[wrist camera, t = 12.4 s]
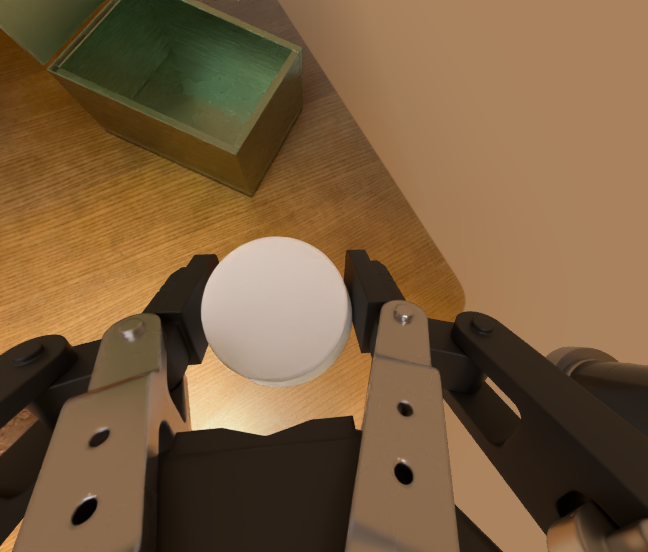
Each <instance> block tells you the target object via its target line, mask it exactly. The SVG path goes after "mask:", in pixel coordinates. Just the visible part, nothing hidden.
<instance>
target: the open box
mask: <svg viewBox="0 0 648 552" xmlns="http://www.w3.org/2000/svg"><path fill="white" fill-rule="evenodd" d="M47 70H48V72H49V73H50V74H51V75H52V76H53V77H54V78H55V79H56V80H57V81H58V82H59V83H60V84H61V85H62V86H63V87H64V88H65V89H66V90H67V91H68V92H69V93H70V94H71V95H72V96H73V97H74V98H75V99H76V100H77V101H78V102H79V103H80V104H81V105H82V106H83V107H84V108H85V109H86V110H87V111H88V112H89V113H90V114H91V115H92V116H93V117H94V118H95V119H96V120H97V122H98V123H99V124H100V125H101V126H102V127H104V129H105V130H106V131H107V132H108V133H110V134H113V135H115V136H117V137H119V138H121V139H124V140H126V141H128V142H130V143H132V144H135V145H137V146H139V147H141V148H143V149H146V150H148V151H150V152H152V153H155V154H157V155H159V156H161V157H163V158H166V159H168V160H170V161H172V162H174V163H177V164H179V165H181V166H183V167H185V168H188V169H190V170H192V171H194V172H196V173H199V174H201V175H203V176H205V177H208V178H210V179H212V180H214V181H216V182H219V183H221V184H223V185H225V186H227V187H230V188H232V189H234V190H236V191H238V192H241V193H243V194H245V195H247V196H249V197H252V196H253V195H254V193H255V191H256V189H257V188H258V186H259V184H260V182H261V181H262V179H263V177H264V175H265V174H266V172H267V170H268V169H269V167H270V165H271V163H272V162H273V160H274V158H275V156H276V155H277V153H278V151H279V149H280V148H281V146H282V144H283V142H284V141H285V139H286V137H287V136H288V134H289V132H290V130H291V129H292V127H293V125H294V123H295V122H296V120H297V118H298V116H299V115H300V113H301V111H302V47H300V46H297V45H295V44H293V43H291V42H288V41H286V40H284V39H282V38H279V37H277V36H275V35H273V34H270V33H268V32H266V31H264V30H261V29H259V28H257V27H255V26H252V25H250V24H248V23H246V22H243V21H241V20H239V19H237V18H234V17H232V16H230V15H228V14H225V13H223V12H221V11H219V10H216V9H214V8H212V7H210V6H207V5H205V4H203V3H201V2H198V1H196V0H111V1H110V2H109V3H108V4H107V5H106V6H105V7H104V8H103V9H102V10H101V11H100V12H99V14H98V15H97V16H96V17H95V18H94V19H93V20H92V21H91V22H90V23H89V24H88V25H87V26H86V28H85V29H84V30H83V31H82V32H81V33H80V34H79V35H78V36H77V37H76V38H75V39H74V40H73V42H72V43H71V44H70V45H69V46H68V47H67V48H66V49H65V50H64V51H63V52H62V53H61V54H60V55H59V57H58V58H57V59H56V60H55V61H54V62H53V63H52V64H51V65H50V66H49V67H48V68H47Z"/></svg>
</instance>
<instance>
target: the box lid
mask: <svg viewBox="0 0 648 552" xmlns="http://www.w3.org/2000/svg"><path fill="white" fill-rule="evenodd" d="M104 1H105V0H0V28H1V29H2V30H3V31H4V32H6V33H7V34H8V35H9V36H10V37H11V38H12V39H13V40H14V41H15V42H16V43H17V44H18V45H19V46H20V47H22V48H23V49H24V50H25V51H26V52H27V53H28V54H29V55H30V56H31V57H32V58H33V59H34V60H35V61H36V62H38V63H39V64H42V65H45V64H46V63H47V61H48V60H49V59H50V58H51V57H52V56H53V55H54V54H55V53H56V52H57V51H58V50H59V49H60V48H61V47H62V45H63V44H64V43H65V42H66V41H67V40H68V39H69V38H70V37H71V36H72V35H73V34H74V33H75V32H76V31H77V29H78V28H79V27H80V26H81V25H82V24H83V23H84V22H85V21H86V20H87V19H88V18H89V17H90V16H91V15H92V13H93V12H94V11H95V10H96V9H97V8H98V7H99V6H100V5H101V4H102V3H103V2H104Z"/></svg>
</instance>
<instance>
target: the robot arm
mask: <svg viewBox="0 0 648 552" xmlns="http://www.w3.org/2000/svg"><path fill="white" fill-rule="evenodd" d="M218 264H219V261H218V258H217V256H216V255H215V254H205V255H194V257H193V258H192V259H191V261H190V262H189V264H188V265H187V267H182V268H180V269H179V270H177V271H176V272H174V273H173V274H171V275H170V277H169V278H168V279H167V281H166V282H165V285H163V286H162V287H161V288H160V291H159V292H157V294H156V295H155V296H154V298H153V299H152V300H151V302H150V303H149V304H148V306H147V307H146V308H145V310H144V311H143V312H142V314H136V315H132V316H129V317H127V318H124V319H122V320H120V321H118V322H117V323H115V324H114V325H112V326H111V327H110V328H109V329H108V330H107V331H106V332H105V333H104V335H103V337H102V339H100V340H96V341H92V342H89V343H85V344H81V345H77V346H73V347H72V346H71V345H70V344H69V342H68V341H67V340H66V338H64V337H63V336H61V335H45V336H41V337H37V338H34V339H31V340H28V341H25V342H23V343H21V344H19V345H17V346H15V347H13V348H11V349H9V350H8V351H6V352H5V353H3V354H2V355H0V429H1V428H3V427H4V426H5V425H6V424H7V423H8V422H9V421H11V420H12V419H13V418H14V417H15V416H16V415H17V414H18V413H20V412H21V411H22V410H23V409H24V408H26V409H27V410H28V411H30V412H31V413H32V414H33V415H34V416H35V417H36V418H37V419H38V420H37V421H36V422H35V423H34V424H33V425H32V426H31V427H30V428H29V429H28V430H27V431H26V432H25V433H24V434H23V435H22V436H21V437H19V438H18V439H17V440H16V441H15V442H14V443H13V444H12V445H11V446H10V447H9V448H8V449H7V450H6V451H5V452H4V453H3V454H2V455H1V456H0V546H1V544H2V543H3V542H4V541H5V540H6V538H7V537H8V536H9V535H10V533H11V532H12V531H13V530H14V529H15V527H16V526H17V525H18V524H19V523H20V521H21V520H22V519H23V518H24V519H23V521H22V524H21V527H20V530H19V533H18V536H17V539H16V542H15V544H14V547H13V550H12V552H503V551H502V550H501V549H500V548H499V547H498V546H496V544H495V543H493V542H492V540H491V539H490V538H489V537H488V536H486V535H485V534H484V533H483V532H482V531H481V530H480V529H479V528H478V527H477V526H476V525H475V524H474V523H473V522H472V521H471V520H470V519H469V518H468V517H467V516H466V515H465V514H464V513H463V512H462V511H461V510H460V509H459V508H458V507H457V506H456V505H455V504H454V496H453V487H452V478H451V469H450V460H449V451H448V442H447V433H446V425H445V415H444V406H443V399H444V400H445V401H446V403H447V404H448V405H449V406H450V408H451V409H452V411H453V412H454V413H455V414H456V416H457V417H458V419H459V420H460V421H461V423H462V424H463V425H464V426H465V428H466V429H467V431H468V432H469V433H470V434H471V436H472V437H473V438H474V440H475V441H476V443H477V444H478V445H479V447H480V448H481V449H482V451H483V452H484V453H485V455H486V456H487V457H488V459H489V460H490V461H491V463H492V464H493V465H494V466H495V468H496V469H497V471H498V472H499V473H500V475H501V476H502V477H503V479H504V480H505V481H506V483H507V484H508V485H509V486H510V488H511V489H512V491H513V492H514V493H515V494H516V496H517V497H518V499H519V500H520V501H521V503H522V504H523V505H524V507H525V508H526V509H527V511H528V512H529V513H530V514H531V516H532V517H533V518H534V520H535V521H536V523H537V524H538V525H539V526H540V528H541V529H542V531H543V532H544V533H545V534H546V536H547V548H548V552H648V365H638V364H630V363H620V362H610V361H604V360H599V359H581V360H578V361H576V362H574V363H572V364H571V365H570V366H569V367H568V368H567V369H566V370H565V372H563V371H562V370H561V369H559V368H558V367H557V366H555V365H554V364H553V363H552V362H550V361H549V360H548V359H546V358H545V357H544V356H543V355H541V354H540V353H538V352H537V351H536V350H535V349H533V348H532V347H531V346H530V345H528V344H527V343H526V342H524V341H523V340H522V339H520V338H519V337H518V336H517V335H516V334H514V333H513V332H512V331H510V330H509V329H508V328H506V327H505V326H504V325H503V324H501V323H500V322H499V321H497V320H496V319H494V318H492V317H490V316H488V315H485V314H482V313H479V312H471V311H470V312H462V313H460V314H459V315H458V316H457V317H456V319H455V322H454V323H452V322H446V321H440V320H435V319H430V318H427V315H426V313H425V312H424V310H423V309H422V308H420V307H419V306H417V305H416V304H414V303H411V302H408V301H406V300H405V298H404V297H403V295H402V293H401V292H400V290H399V288H398V287H397V285H396V283H395V282H394V281H393V278H392V276H391V275H390V273H389V271H388V270H387V268H386V266H384V265H383V264H381V263H380V262H378V261H377V260H376V261H370V259H369V257H368V255H367V253H366V251H365V250H347V251H346V258H345V273H344V283H345V286H346V288H347V290H348V293H349V297H350V300H351V306H352V322H353V325H354V329H355V333H356V336H357V340H358V343H359V347H360V350H361V353H371V356H372V364H371V370H370V376H369V382H368V389H367V395H366V401H365V407H364V414H363V420H362V425H361V430H357V429H355V425H354V420H353V416H345V417H334V418H324V419H313V420H309V421H306V422H304V423H301V424H298V425H296V426H293V427H290V428H288V429H285V430H282V431H280V432H277V433H274V434H272V435H268V436H261V435H256V434H251V433H245V432H240V431H235V430H229V429H224V428H217V429H207V430H196V431H192V430H191V420H190V408H189V396H188V383H187V378H186V375H185V371H186V369H187V366H188V365H196V364H201V363H202V360H203V357H204V355H205V352H206V349H207V347H208V341H207V339H206V336H205V333H204V329H203V325H202V320H201V304H202V298H203V294H204V290H205V287H206V284H207V282H208V280H209V278H210V276H211V274H212V273H213V271H214V269H215V268H216V267H217V265H218ZM487 376H488V377H489V378H490V379H491V380H492V381H493V382H494V383H495V384H496V385H497V386H498V387H499V388H500V389H501V390H502V391H503V392H504V393H505V394H506V395H507V396H508V397H509V398H510V399H511V401H512V402H513V403H514V404H515V405H516V406H517V408H518V410H519V412H520V415H521V419H520V418H519V417H518V416H517V415H516V414H515V413H514V412H513V410H511V408H510V407H509V406H508V405H507V404H506V403H505V402H504V401H503V400H502V399H501V398H500V397H499V396H498V395H497V394H496V393H495V392H494V390H493V389H492V388H491V387H490V386H489V385H488V384H487V383H486V382H485V380H486V378H487Z"/></svg>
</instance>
